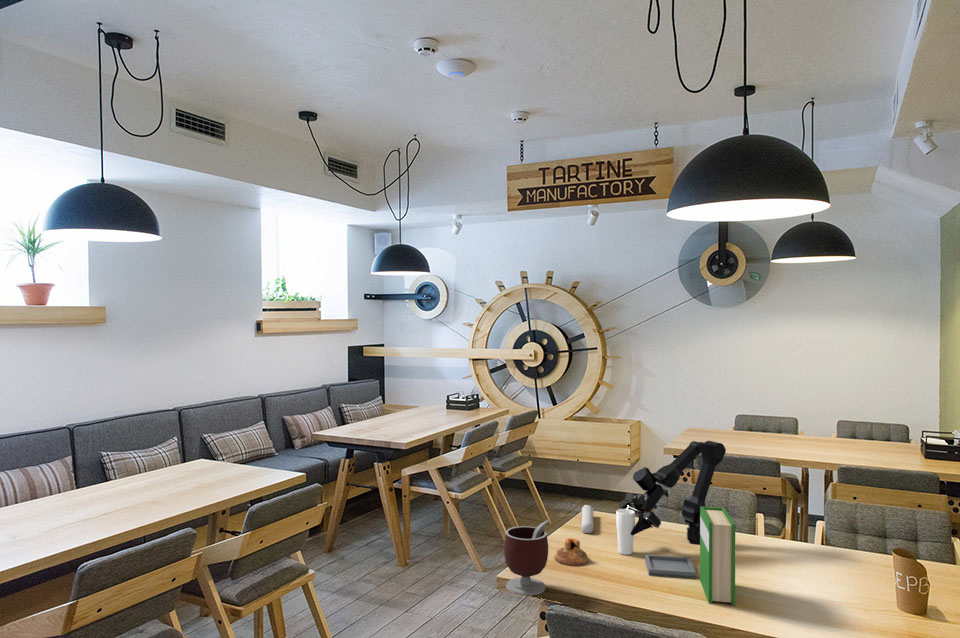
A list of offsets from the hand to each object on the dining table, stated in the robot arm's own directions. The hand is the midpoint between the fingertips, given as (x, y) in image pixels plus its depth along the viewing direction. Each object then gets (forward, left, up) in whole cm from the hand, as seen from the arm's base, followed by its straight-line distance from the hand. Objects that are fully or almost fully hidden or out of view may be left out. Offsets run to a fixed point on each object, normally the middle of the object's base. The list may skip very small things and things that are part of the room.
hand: (625, 531), depth 230 cm
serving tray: (-14, +13, -8) cm, 21 cm away
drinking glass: (0, 0, -8) cm, 8 cm away
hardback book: (-26, +30, -8) cm, 40 cm away
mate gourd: (+32, +37, -8) cm, 50 cm away
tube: (+14, -30, -8) cm, 34 cm away
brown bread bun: (+19, +11, -8) cm, 24 cm away
